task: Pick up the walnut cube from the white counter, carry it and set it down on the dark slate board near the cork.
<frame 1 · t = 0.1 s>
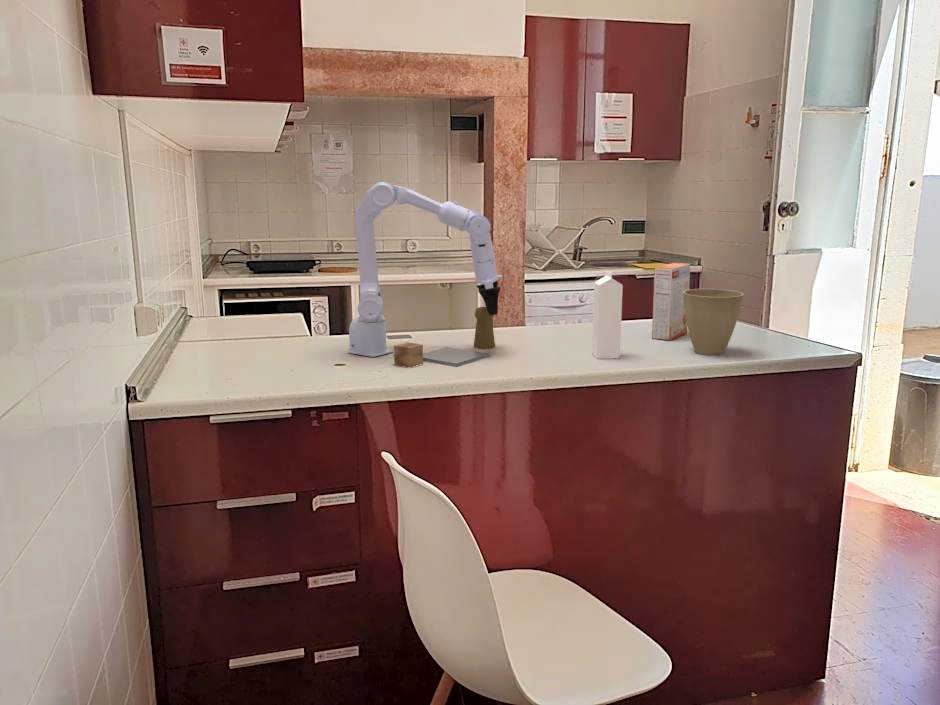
hand: (492, 312, 198), 11 cm above the countertop, tool pointing down, fingers open, 7 cm apart
cork: (484, 347, 206), on the countertop, touching gripper
plant pot: (708, 353, 199), on the countertop
cracker box: (669, 337, 221), on the countertop
slate board: (451, 357, 193), on the countertop
milk: (605, 356, 195), on the countertop
walnut cube: (408, 364, 186), on the countertop
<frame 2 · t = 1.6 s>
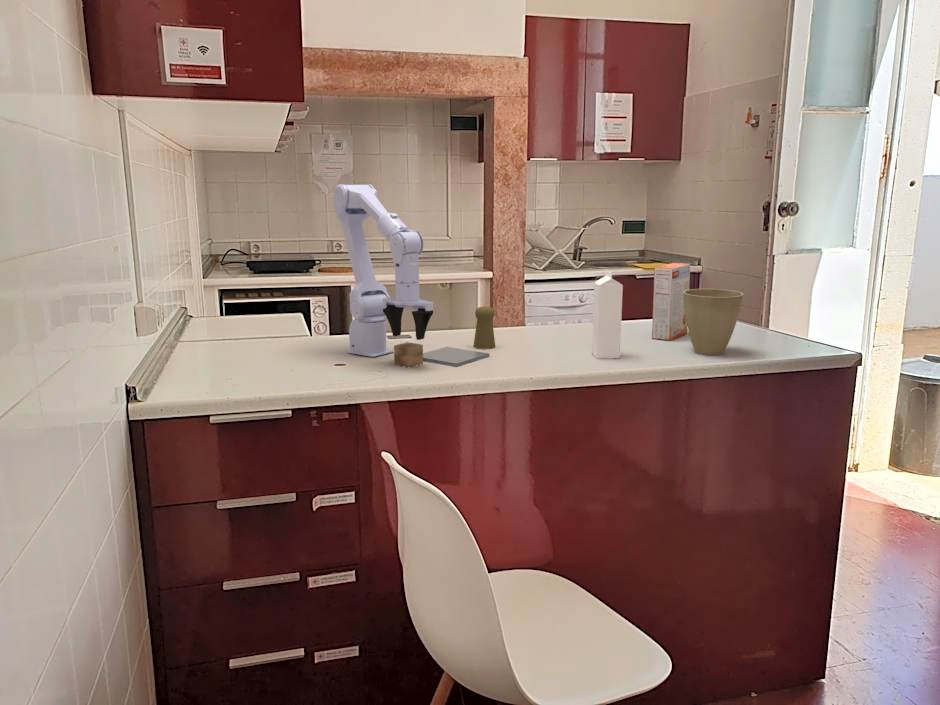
hand: (408, 337, 185), 7 cm above the countertop, tool pointing down, fingers open, 7 cm apart
cork: (484, 347, 206), on the countertop
everything else where it was.
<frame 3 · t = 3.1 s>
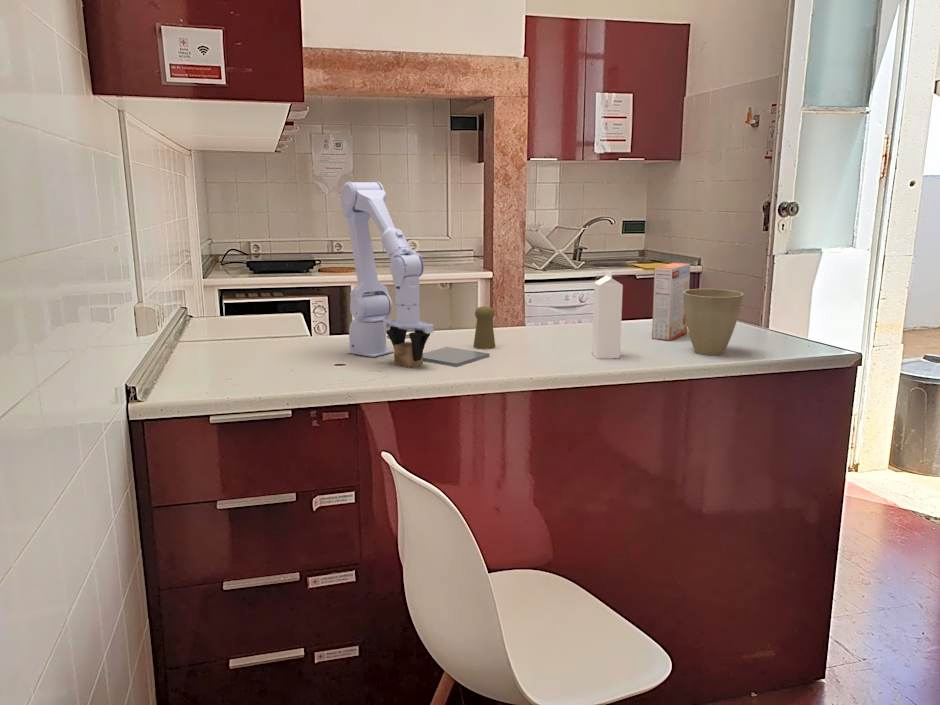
hand: (408, 358, 186), 1 cm above the countertop, tool pointing down, fingers closed on walnut cube, 5 cm apart
walnut cube: (408, 364, 186), on the countertop, touching gripper
everything else where it was.
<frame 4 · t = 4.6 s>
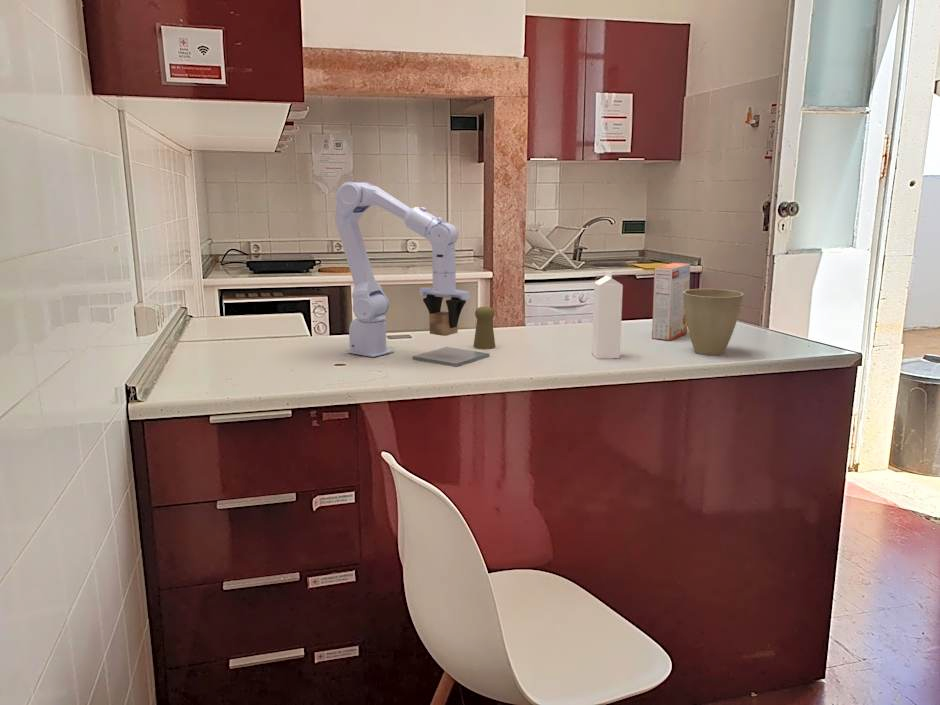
hand: (444, 326, 190), 8 cm above the countertop, tool pointing down, fingers closed on walnut cube, 5 cm apart
walnut cube: (443, 333, 190), point 7 cm above the countertop, touching gripper
everything else where it was.
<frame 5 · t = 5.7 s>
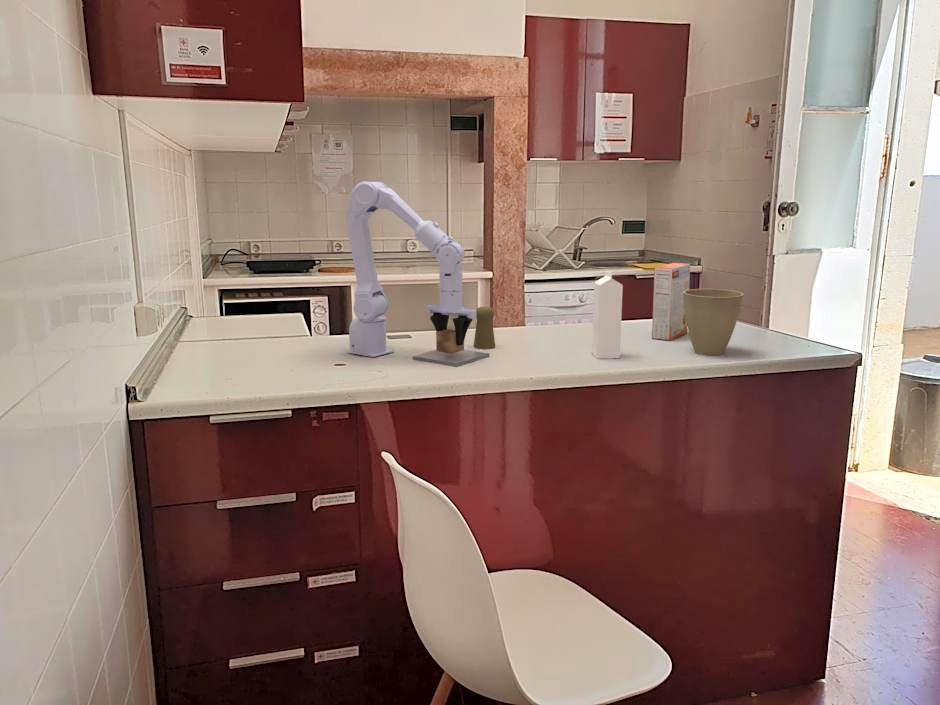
hand: (451, 343, 192), 4 cm above the countertop, tool pointing down, fingers closed on walnut cube, 5 cm apart
walnut cube: (450, 350, 192), point 2 cm above the countertop, touching gripper
everything else where it was.
when the fingers open (4 cm above the countertop, at t = 6.5 s): walnut cube drops 1 cm, resting on slate board.
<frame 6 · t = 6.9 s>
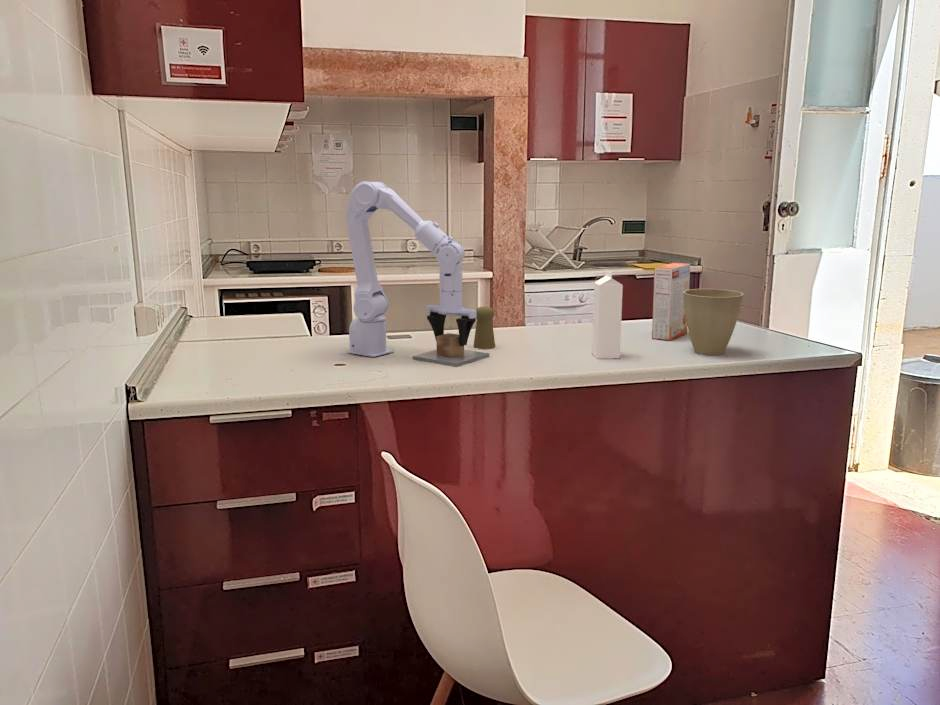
hand: (451, 343, 192), 4 cm above the countertop, tool pointing down, fingers open, 7 cm apart
walnut cube: (450, 354, 193), point 1 cm above the countertop, touching slate board
everything else where it was.
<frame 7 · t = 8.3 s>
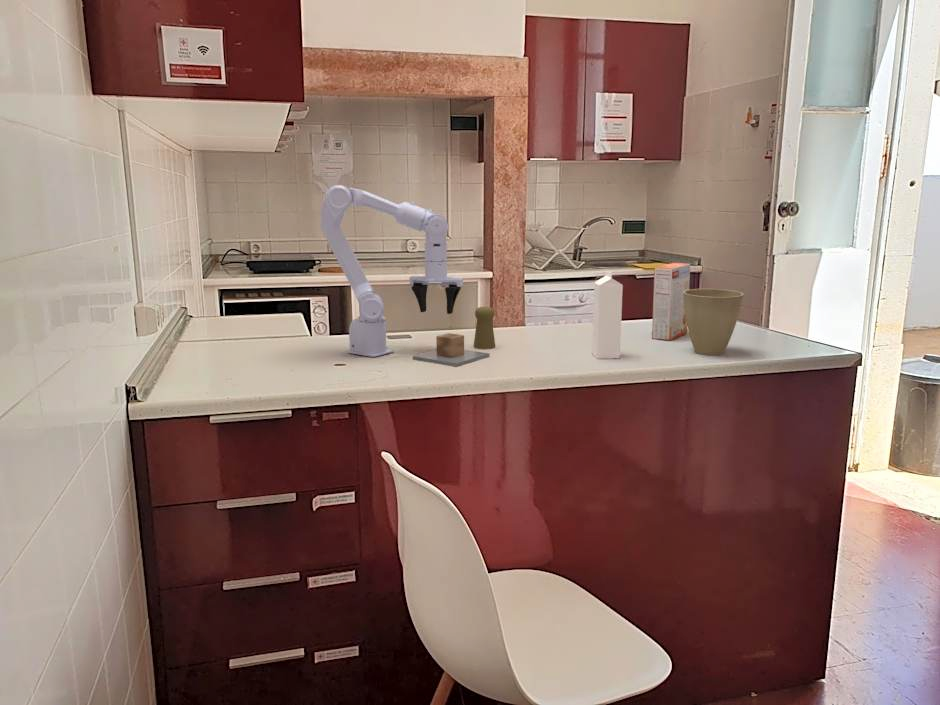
hand: (436, 312, 199), 10 cm above the countertop, tool pointing down, fingers open, 7 cm apart
nothing on the countertop moved.
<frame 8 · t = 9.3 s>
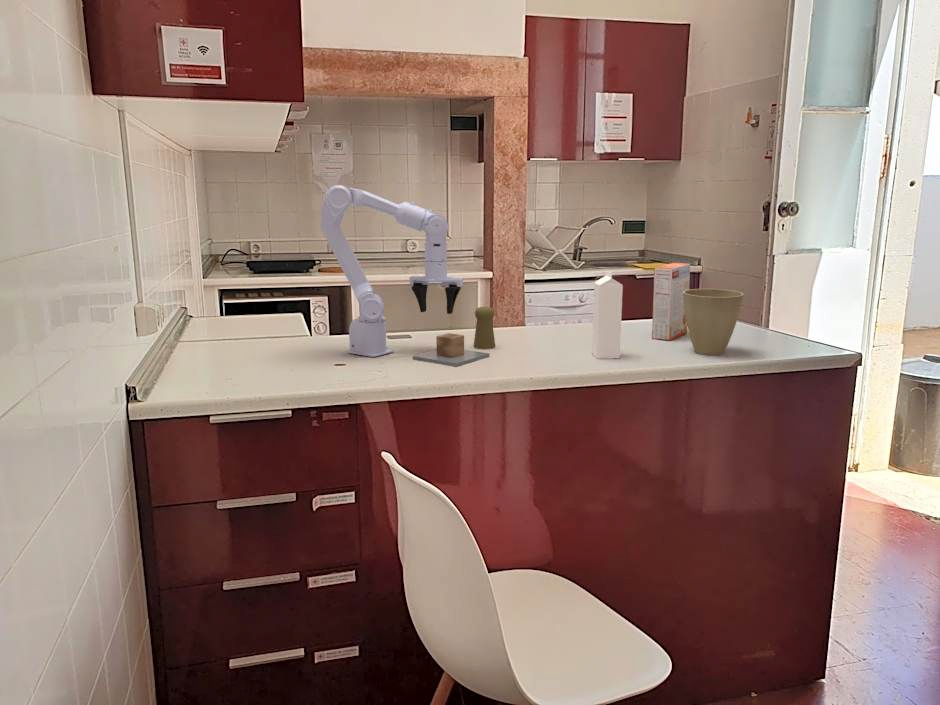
hand: (436, 312, 199), 10 cm above the countertop, tool pointing down, fingers open, 7 cm apart
nothing on the countertop moved.
at the end: walnut cube inside the target area on the slate board (0.4 cm from its centre), point 0.8 cm above the slate board's base; walnut cube tilted 0°; the gripper is holding nothing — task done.
